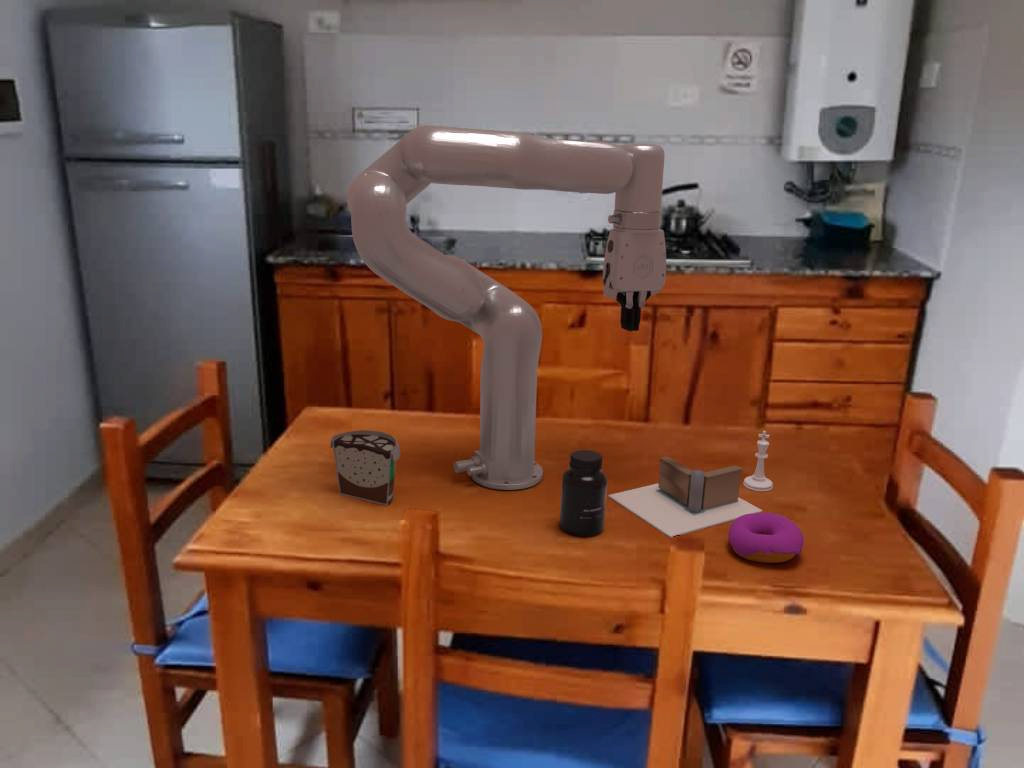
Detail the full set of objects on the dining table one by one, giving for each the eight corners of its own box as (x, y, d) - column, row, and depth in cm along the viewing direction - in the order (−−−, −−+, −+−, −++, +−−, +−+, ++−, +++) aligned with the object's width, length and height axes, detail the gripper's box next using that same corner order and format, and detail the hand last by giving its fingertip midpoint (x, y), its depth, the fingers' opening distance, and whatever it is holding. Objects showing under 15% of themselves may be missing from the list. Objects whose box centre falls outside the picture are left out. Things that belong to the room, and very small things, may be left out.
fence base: (670, 538, 127) (674, 495, 125) (608, 496, 140) (610, 457, 138) (762, 512, 136) (767, 472, 134) (695, 475, 149) (699, 438, 147)
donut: (731, 529, 131) (735, 501, 129) (803, 542, 127) (807, 513, 126) (722, 561, 121) (725, 531, 120) (799, 576, 118) (803, 546, 116)
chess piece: (773, 492, 143) (781, 438, 140) (744, 489, 144) (750, 435, 141) (771, 481, 148) (778, 427, 145) (742, 478, 149) (748, 425, 146)
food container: (415, 493, 140) (414, 436, 137) (395, 507, 135) (394, 449, 132) (353, 478, 145) (351, 424, 142) (332, 492, 140) (329, 436, 136)
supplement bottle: (591, 542, 125) (595, 468, 122) (551, 530, 129) (554, 457, 125) (611, 524, 131) (616, 453, 127) (572, 513, 134) (576, 443, 131)
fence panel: (693, 503, 137) (696, 473, 135) (685, 505, 136) (688, 474, 134) (665, 485, 143) (667, 456, 141) (657, 487, 142) (659, 458, 141)
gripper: (609, 225, 133) (603, 338, 138) (687, 222, 139) (678, 330, 145) (586, 220, 139) (581, 328, 145) (661, 217, 145) (653, 321, 151)
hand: (629, 329), depth 145 cm, fingers closed
